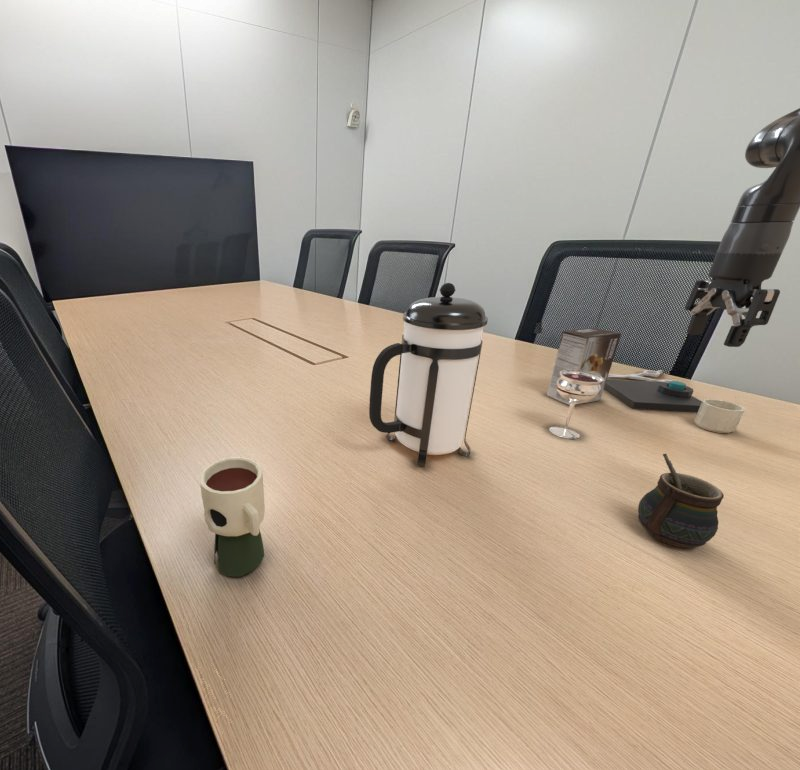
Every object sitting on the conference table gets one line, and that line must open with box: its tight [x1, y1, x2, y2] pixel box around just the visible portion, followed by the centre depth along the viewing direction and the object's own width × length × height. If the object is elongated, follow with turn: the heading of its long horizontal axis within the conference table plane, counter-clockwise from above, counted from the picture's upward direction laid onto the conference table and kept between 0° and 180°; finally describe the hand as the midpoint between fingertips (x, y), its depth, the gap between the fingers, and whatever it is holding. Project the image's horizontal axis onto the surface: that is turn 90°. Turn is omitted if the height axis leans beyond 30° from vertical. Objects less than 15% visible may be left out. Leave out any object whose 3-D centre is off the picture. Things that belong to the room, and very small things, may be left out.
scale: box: [604, 378, 703, 413], centre depth 87 cm, size 14×14×3 cm
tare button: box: [668, 380, 687, 390], centre depth 85 cm, size 3×3×1 cm
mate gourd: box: [637, 453, 725, 549], centre depth 47 cm, size 7×8×10 cm
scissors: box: [608, 369, 673, 383], centre depth 98 cm, size 11×1×20 cm
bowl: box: [693, 398, 746, 434], centre depth 73 cm, size 6×6×5 cm
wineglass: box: [548, 370, 604, 440], centre depth 71 cm, size 7×7×12 cm
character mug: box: [199, 456, 266, 578], centre depth 45 cm, size 11×7×13 cm, turn 34°
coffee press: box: [368, 282, 489, 468], centre depth 64 cm, size 17×16×30 cm
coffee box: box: [546, 327, 622, 406], centre depth 85 cm, size 9×6×16 cm
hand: (711, 339), depth 72 cm, fingers open, 8 cm apart
